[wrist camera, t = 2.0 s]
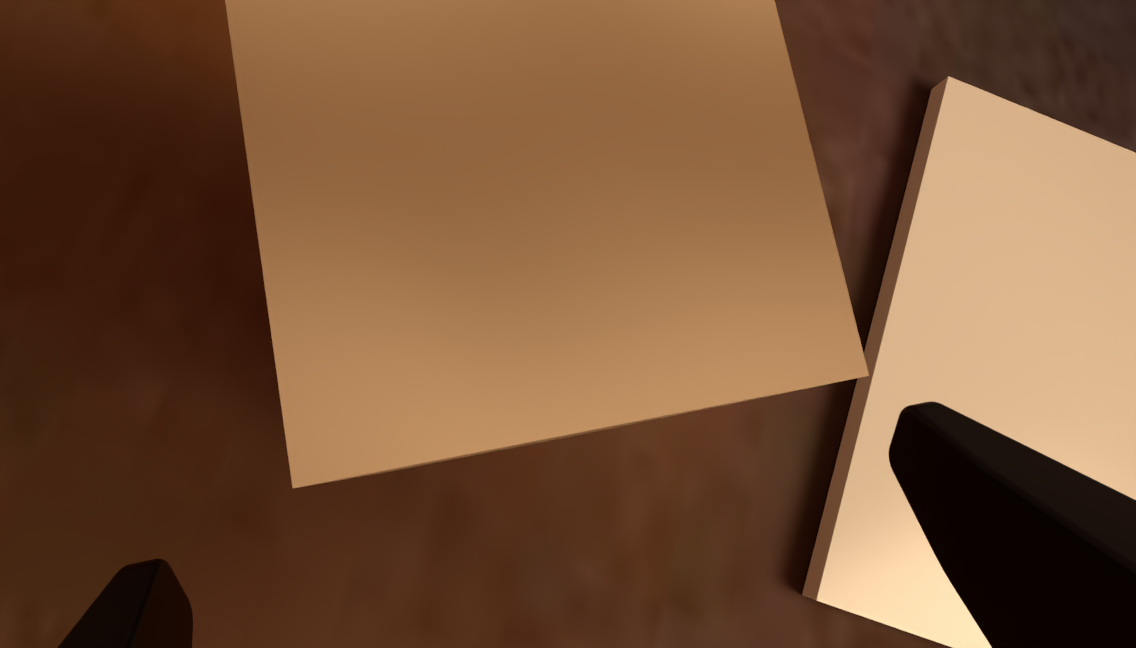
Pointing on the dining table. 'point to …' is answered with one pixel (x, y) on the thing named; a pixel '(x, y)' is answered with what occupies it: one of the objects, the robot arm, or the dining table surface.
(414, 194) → the wood block
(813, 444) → the dining table surface
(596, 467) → the dining table surface
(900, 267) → the tile
